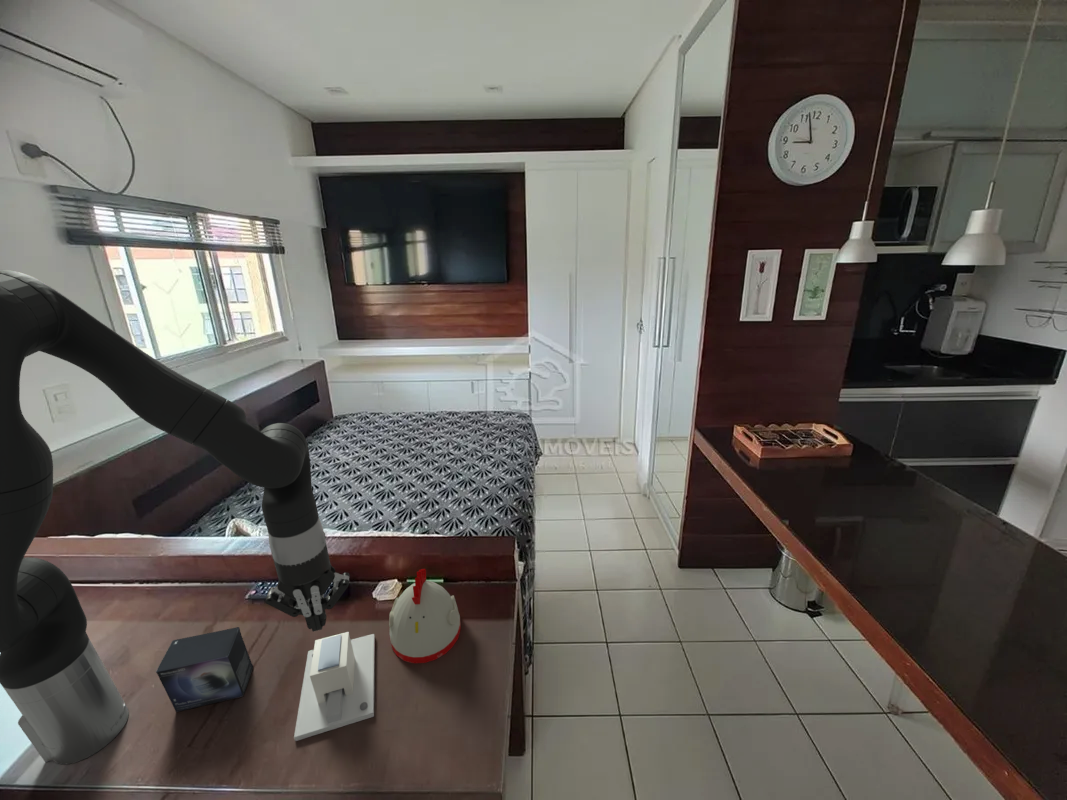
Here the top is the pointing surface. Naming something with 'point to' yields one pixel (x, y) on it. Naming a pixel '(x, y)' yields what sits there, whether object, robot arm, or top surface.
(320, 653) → the block
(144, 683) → the top surface
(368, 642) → the mounting plate
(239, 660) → the small box
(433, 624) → the kitchen timer
